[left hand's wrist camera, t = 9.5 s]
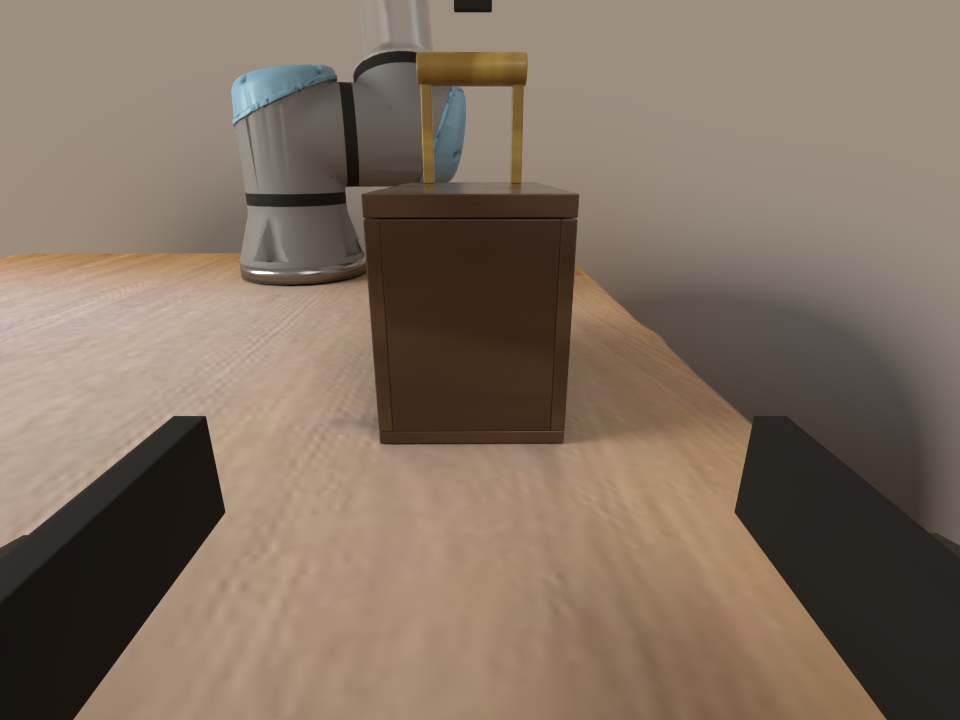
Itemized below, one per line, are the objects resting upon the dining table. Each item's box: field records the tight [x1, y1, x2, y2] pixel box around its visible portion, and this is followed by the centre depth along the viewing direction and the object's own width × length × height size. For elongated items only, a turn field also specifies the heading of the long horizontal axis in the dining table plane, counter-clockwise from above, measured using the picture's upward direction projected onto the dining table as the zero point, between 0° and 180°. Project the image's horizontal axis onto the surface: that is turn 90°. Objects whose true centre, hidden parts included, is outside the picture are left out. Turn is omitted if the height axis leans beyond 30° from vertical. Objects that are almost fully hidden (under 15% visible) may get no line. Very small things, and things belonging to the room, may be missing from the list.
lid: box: [361, 52, 579, 218], centre depth 29 cm, size 17×9×9 cm, turn 0°
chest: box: [363, 218, 577, 443], centre depth 32 cm, size 16×9×11 cm, turn 0°
